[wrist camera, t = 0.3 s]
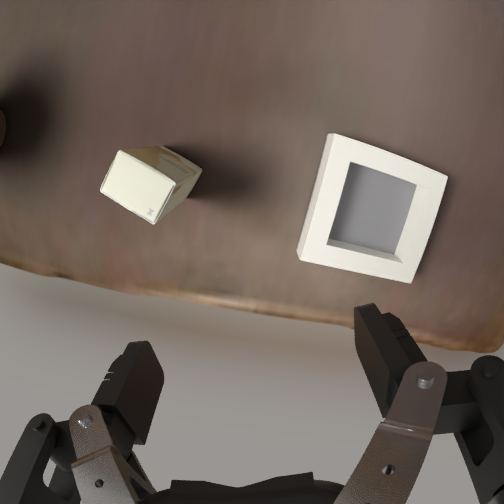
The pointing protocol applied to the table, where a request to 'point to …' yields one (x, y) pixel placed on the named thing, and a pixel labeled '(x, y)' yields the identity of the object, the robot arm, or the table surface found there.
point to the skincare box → (150, 181)
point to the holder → (369, 210)
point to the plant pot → (2, 127)
